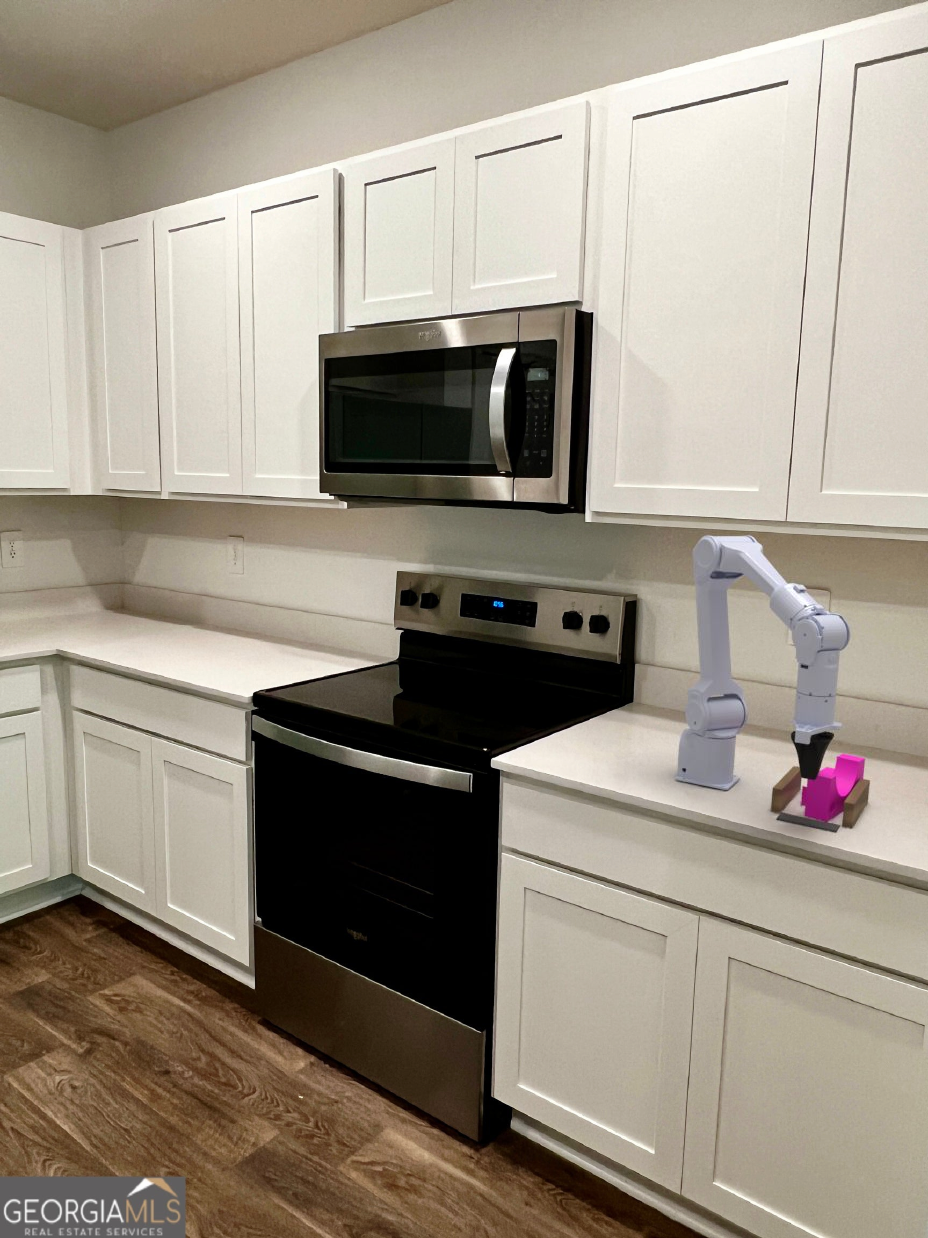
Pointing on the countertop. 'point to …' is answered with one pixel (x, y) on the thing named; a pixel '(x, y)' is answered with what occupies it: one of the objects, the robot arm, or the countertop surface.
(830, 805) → the toy block
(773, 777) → the countertop surface
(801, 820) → the pit pad
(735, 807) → the countertop surface
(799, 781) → the channel
